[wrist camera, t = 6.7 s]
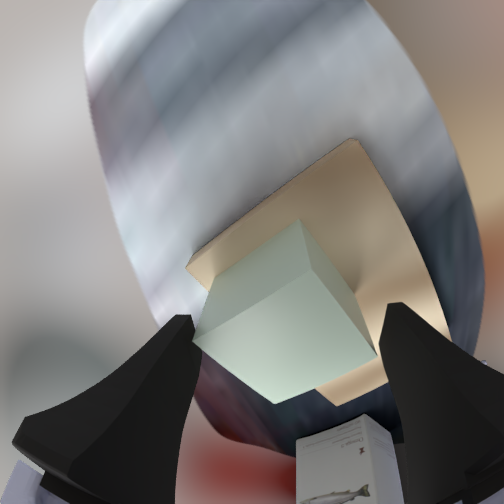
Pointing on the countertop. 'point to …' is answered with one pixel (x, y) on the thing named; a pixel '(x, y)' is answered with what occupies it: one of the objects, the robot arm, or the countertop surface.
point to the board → (340, 248)
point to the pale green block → (284, 318)
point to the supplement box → (348, 466)
